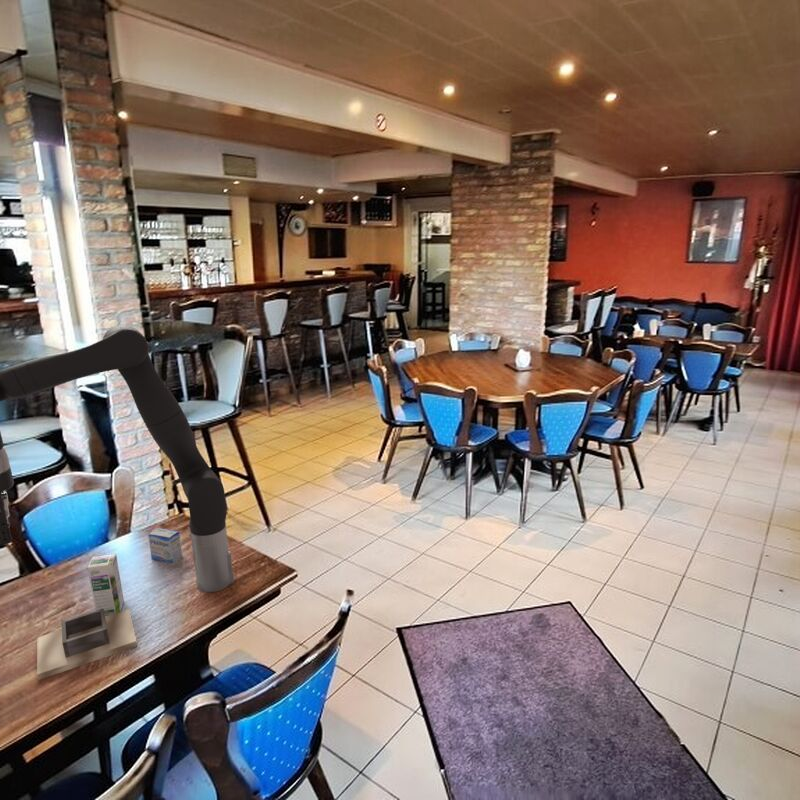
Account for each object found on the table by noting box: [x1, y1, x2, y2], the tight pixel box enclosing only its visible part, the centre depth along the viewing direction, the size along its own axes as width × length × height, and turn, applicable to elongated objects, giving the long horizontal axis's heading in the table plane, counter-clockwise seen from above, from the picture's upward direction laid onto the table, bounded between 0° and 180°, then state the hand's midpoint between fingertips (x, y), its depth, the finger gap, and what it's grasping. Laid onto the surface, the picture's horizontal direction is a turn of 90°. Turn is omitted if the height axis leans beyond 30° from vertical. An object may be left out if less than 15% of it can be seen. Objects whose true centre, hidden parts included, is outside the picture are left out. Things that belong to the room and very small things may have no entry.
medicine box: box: [148, 527, 183, 564], centre depth 169 cm, size 8×4×9 cm, turn 73°
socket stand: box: [36, 608, 138, 681], centre depth 133 cm, size 20×14×6 cm
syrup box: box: [87, 553, 125, 616], centre depth 145 cm, size 6×6×14 cm
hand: (5, 535), depth 127 cm, fingers open, 8 cm apart
